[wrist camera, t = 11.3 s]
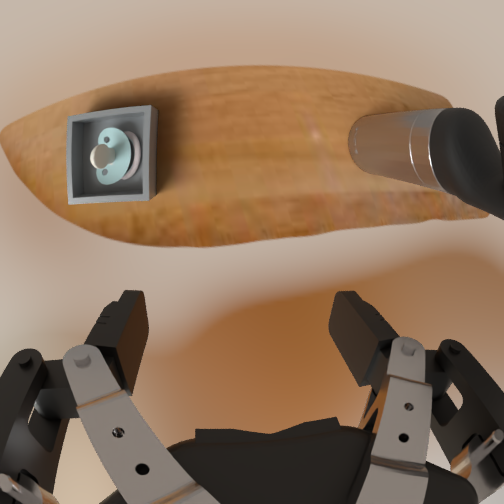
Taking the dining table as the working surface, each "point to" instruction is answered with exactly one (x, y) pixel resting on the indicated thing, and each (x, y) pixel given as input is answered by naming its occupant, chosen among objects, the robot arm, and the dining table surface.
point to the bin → (86, 139)
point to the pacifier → (115, 155)
